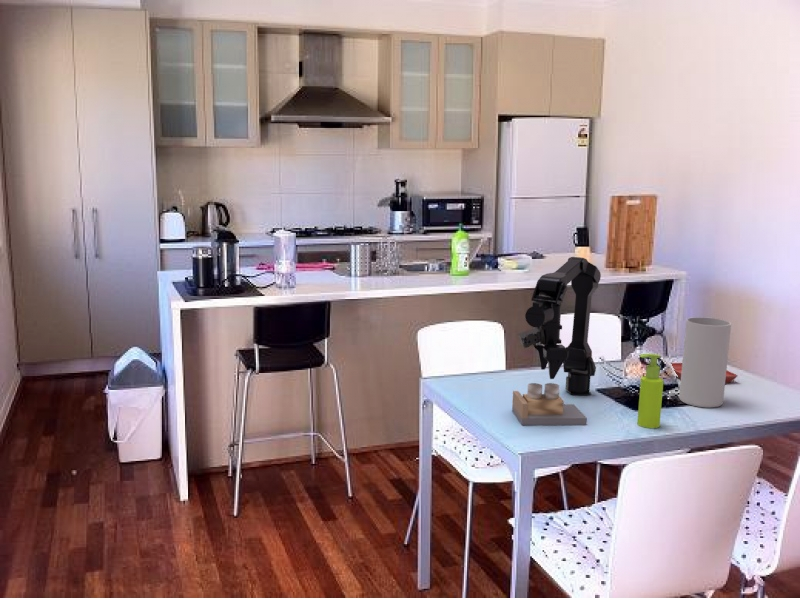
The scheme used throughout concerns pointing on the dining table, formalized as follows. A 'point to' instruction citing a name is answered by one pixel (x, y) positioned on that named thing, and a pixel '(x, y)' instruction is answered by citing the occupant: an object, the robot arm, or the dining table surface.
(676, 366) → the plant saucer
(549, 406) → the glass caddy
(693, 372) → the cylinder vase
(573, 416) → the l-shaped bookend
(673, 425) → the dining table surface
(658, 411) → the soap dispenser
